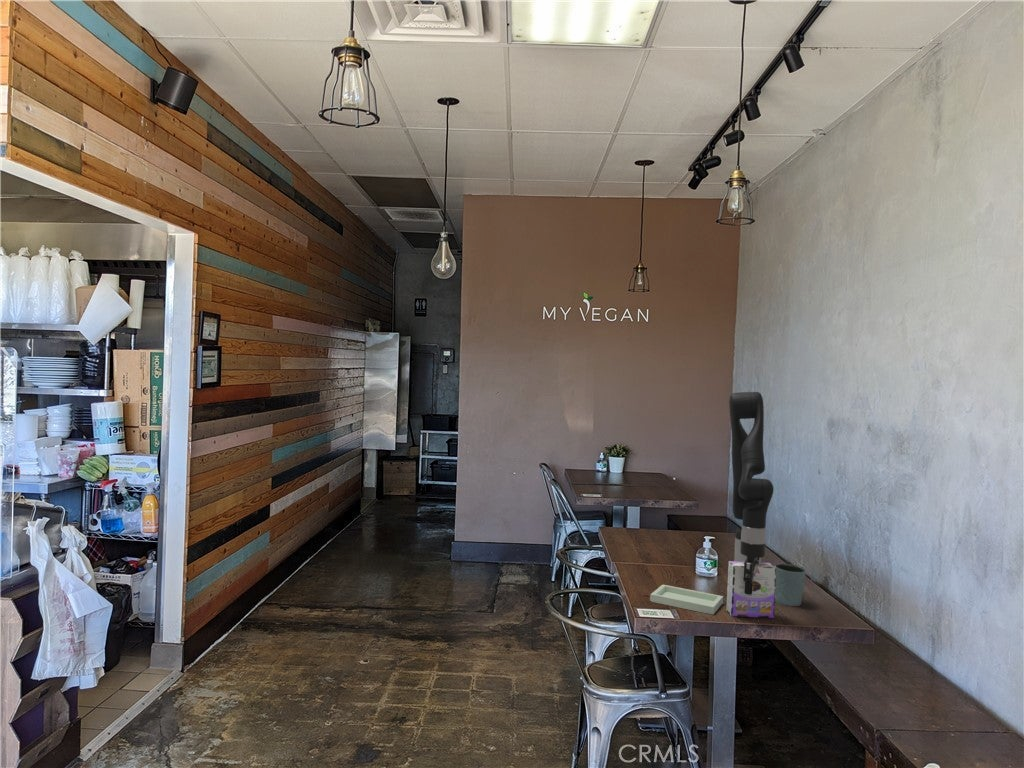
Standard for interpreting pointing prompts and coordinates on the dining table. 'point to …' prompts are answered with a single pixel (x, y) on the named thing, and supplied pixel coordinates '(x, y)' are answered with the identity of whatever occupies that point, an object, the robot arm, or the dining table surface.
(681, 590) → the tray
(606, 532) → the dining table surface
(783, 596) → the green cup
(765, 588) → the candy box
